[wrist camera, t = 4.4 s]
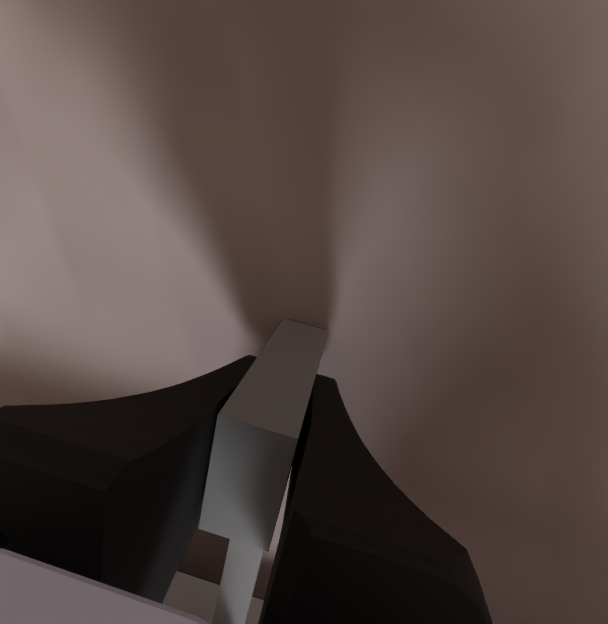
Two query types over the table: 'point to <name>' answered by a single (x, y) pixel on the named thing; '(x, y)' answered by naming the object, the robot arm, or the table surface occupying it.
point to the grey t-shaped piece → (252, 472)
